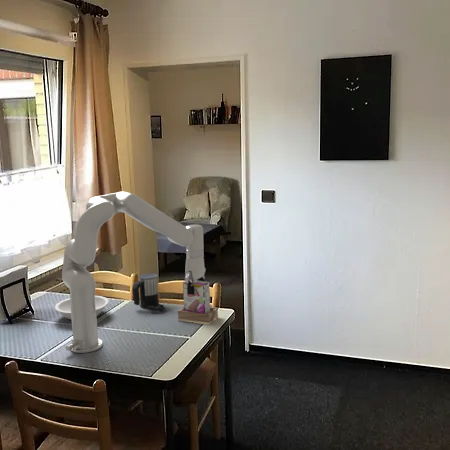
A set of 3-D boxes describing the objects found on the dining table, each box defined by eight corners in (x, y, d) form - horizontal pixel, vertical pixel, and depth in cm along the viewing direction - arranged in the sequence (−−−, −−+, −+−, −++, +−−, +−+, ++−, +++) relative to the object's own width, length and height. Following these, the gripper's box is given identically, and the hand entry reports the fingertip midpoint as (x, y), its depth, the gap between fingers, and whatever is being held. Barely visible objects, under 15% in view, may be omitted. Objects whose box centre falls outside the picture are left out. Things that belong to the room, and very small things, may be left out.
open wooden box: (208, 324, 230) (208, 314, 229) (178, 320, 236) (177, 310, 235) (217, 317, 238) (217, 308, 237) (188, 313, 244) (187, 304, 243)
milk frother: (146, 301, 263) (144, 272, 260) (174, 304, 257) (173, 274, 254) (131, 311, 250) (128, 280, 247) (160, 314, 244) (158, 283, 241)
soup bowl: (102, 326, 232) (101, 312, 230) (48, 327, 232) (46, 313, 231) (115, 307, 255) (114, 294, 254) (65, 309, 256) (64, 295, 255)
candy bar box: (183, 317, 237) (182, 281, 234) (189, 313, 241) (188, 278, 238) (205, 321, 231) (203, 284, 228) (211, 317, 236) (209, 281, 233)
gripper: (196, 248, 240) (197, 284, 243) (177, 257, 225) (178, 295, 228) (211, 249, 237) (212, 286, 240) (193, 258, 222) (194, 297, 225)
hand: (196, 291), depth 234 cm, fingers open, 9 cm apart
